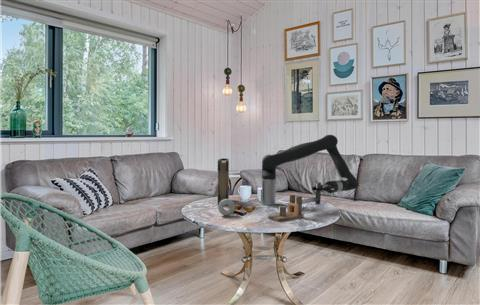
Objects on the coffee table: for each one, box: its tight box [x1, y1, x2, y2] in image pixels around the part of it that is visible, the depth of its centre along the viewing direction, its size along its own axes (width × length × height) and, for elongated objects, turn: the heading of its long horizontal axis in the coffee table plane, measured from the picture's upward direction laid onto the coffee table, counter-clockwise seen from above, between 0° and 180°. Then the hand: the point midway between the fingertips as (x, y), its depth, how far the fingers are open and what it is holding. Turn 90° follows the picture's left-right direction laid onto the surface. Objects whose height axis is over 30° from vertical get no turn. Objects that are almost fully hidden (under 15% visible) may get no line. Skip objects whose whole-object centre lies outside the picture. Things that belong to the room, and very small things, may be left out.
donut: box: [217, 198, 236, 217], centre depth 209 cm, size 10×4×10 cm, turn 99°
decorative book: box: [217, 158, 230, 207], centre depth 247 cm, size 23×7×30 cm, turn 0°
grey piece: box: [302, 182, 322, 205], centre depth 215 cm, size 3×18×13 cm, turn 126°
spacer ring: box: [287, 202, 299, 215], centre depth 208 cm, size 7×2×6 cm, turn 36°
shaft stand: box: [267, 194, 305, 223], centre depth 205 cm, size 9×19×12 cm, turn 126°
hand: (315, 189), depth 218 cm, fingers closed on grey piece, 3 cm apart
